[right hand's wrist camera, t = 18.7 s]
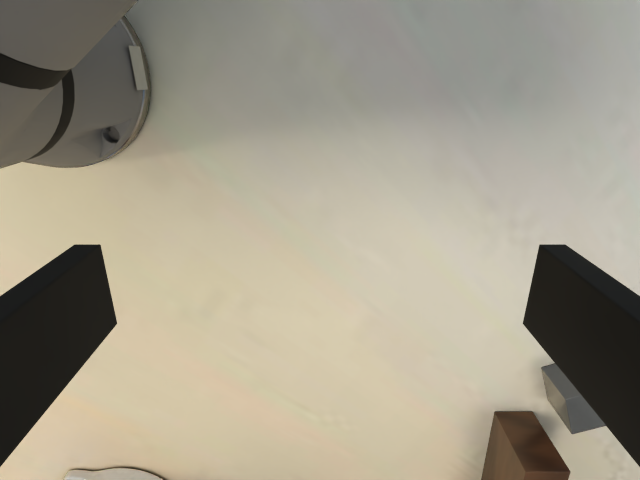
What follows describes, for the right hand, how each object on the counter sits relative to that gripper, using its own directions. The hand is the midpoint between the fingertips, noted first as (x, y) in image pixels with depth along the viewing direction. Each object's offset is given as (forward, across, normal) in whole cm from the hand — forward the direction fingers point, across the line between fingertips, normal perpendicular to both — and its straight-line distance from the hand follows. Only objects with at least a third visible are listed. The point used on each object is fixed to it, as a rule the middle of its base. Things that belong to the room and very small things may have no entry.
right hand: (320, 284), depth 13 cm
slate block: (+27, +28, -26) cm, 47 cm away
